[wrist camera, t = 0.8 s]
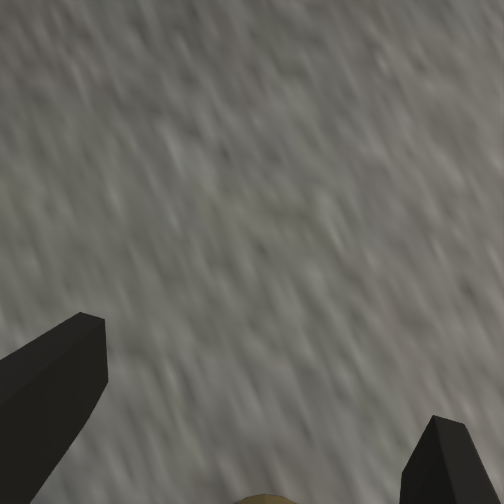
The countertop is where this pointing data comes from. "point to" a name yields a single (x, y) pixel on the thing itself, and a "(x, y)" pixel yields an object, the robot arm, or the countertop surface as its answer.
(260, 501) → the cork
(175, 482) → the countertop surface
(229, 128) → the countertop surface
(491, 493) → the robot arm
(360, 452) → the countertop surface
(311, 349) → the countertop surface
